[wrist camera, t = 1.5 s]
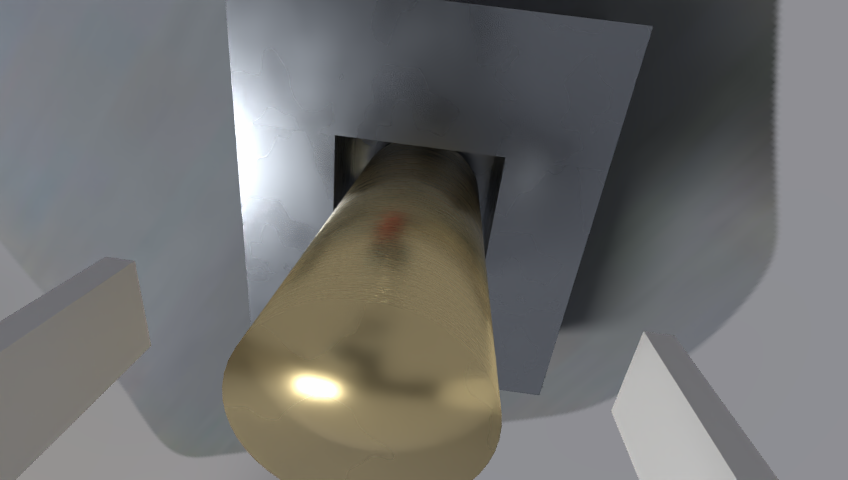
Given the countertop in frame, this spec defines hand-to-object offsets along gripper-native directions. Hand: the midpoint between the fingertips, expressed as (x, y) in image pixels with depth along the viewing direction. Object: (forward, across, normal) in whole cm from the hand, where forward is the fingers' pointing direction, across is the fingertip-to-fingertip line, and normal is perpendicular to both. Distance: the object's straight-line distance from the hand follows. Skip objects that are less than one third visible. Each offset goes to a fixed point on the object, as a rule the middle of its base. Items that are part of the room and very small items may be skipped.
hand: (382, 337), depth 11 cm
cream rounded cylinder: (+10, 0, 0) cm, 10 cm away
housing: (+11, 0, 0) cm, 11 cm away
